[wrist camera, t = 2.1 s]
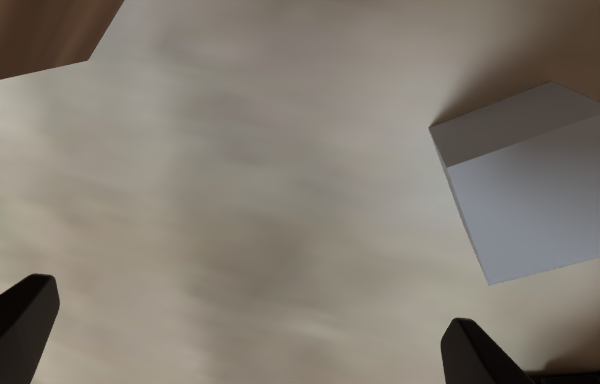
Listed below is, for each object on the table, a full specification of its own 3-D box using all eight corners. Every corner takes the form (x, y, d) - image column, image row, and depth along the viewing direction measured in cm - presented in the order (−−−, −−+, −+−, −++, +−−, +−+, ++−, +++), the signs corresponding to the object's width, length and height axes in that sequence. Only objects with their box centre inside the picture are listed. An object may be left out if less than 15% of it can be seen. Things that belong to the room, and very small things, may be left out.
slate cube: (577, 186, 19) (642, 245, 14) (462, 222, 20) (488, 285, 16) (550, 80, 17) (614, 109, 13) (428, 127, 19) (446, 167, 14)
